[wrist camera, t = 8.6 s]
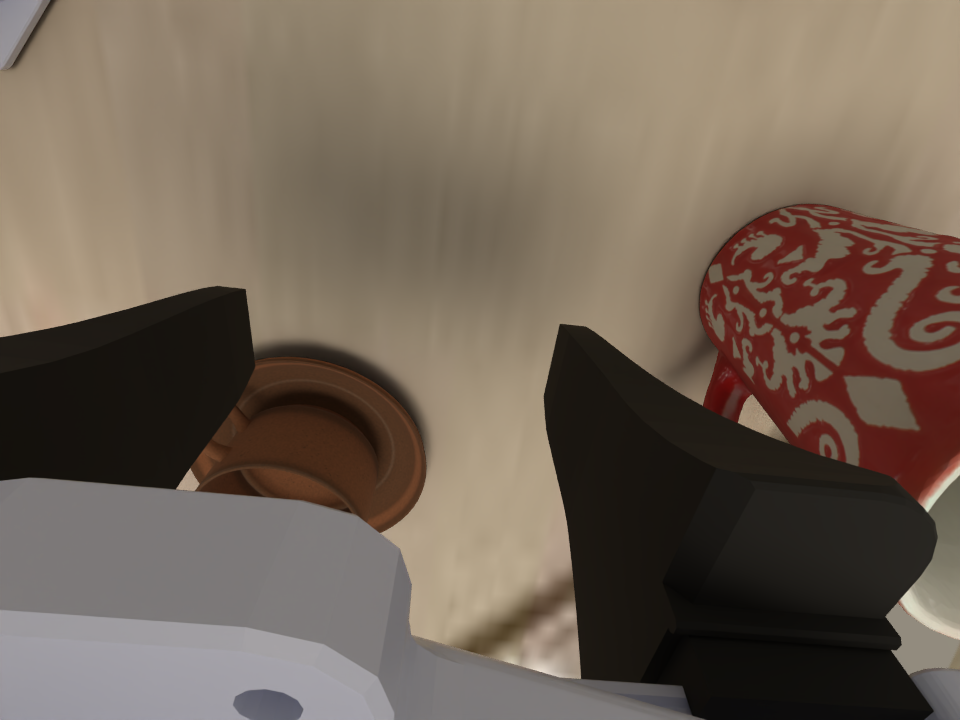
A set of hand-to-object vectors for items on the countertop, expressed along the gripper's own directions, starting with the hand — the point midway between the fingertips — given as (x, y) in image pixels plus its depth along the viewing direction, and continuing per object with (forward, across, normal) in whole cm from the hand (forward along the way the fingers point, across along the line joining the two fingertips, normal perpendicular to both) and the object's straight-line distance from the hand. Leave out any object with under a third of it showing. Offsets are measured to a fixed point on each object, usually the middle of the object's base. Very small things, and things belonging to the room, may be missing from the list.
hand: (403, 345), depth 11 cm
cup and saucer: (+11, +6, +12) cm, 17 cm away
